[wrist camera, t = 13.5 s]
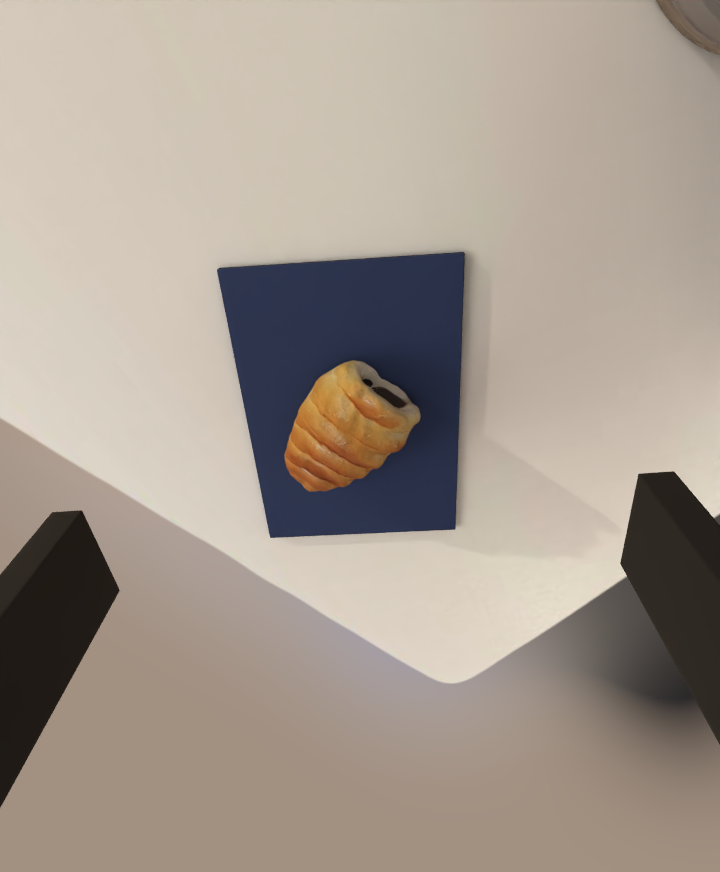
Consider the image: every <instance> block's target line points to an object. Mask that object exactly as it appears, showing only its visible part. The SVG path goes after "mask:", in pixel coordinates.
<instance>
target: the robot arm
mask: <svg viewBox="0 0 720 872" xmlns="http://www.w3.org/2000/svg"><path fill="white" fill-rule="evenodd" d="M656 1H657V3H658V4H659V6H660V8H661V10H662V11H663V12H664V14H665V15H666V16H667V18H668V19H669V20H670V22H671V23H672V24H673V25H674V26H675V27H676V28H677V29H678V30H679V31H680V32H681V33H682V34H683V35H684V36H686V37H687V38H688V39H690V40H691V41H692V42H694V43H695V44H697V45H699V46H700V47H702V48H704V49H706V50H708V51H710V52H713V53H715V54H718V55H720V0H656ZM620 564H621V566H622V567H623V569H624V571H625V573H626V575H627V577H628V578H629V580H630V582H631V584H632V585H633V587H634V589H635V591H636V593H637V595H638V596H639V598H640V600H641V602H642V604H643V606H644V608H645V609H646V611H647V613H648V615H649V616H650V618H651V620H652V622H653V624H654V626H655V627H656V629H657V631H658V633H659V635H660V637H661V638H662V640H663V642H664V644H665V646H666V648H667V649H668V651H669V653H670V655H671V656H672V658H673V660H674V662H675V664H676V666H677V668H678V669H679V671H680V673H681V675H682V677H683V678H684V680H685V682H686V684H687V686H688V688H689V689H690V691H691V693H692V695H693V697H694V699H695V700H696V702H697V704H698V706H699V708H700V709H701V711H702V713H703V715H704V717H705V718H706V720H707V722H708V724H709V726H710V728H711V729H712V731H713V733H714V735H715V737H716V739H717V740H718V742H719V744H720V525H719V524H718V523H717V522H716V521H715V519H714V518H713V517H712V516H711V515H710V513H709V512H708V511H707V510H706V509H705V508H704V506H703V505H702V504H701V503H700V502H699V500H698V499H697V498H696V497H695V496H694V495H693V493H692V492H691V491H690V490H689V489H688V487H687V486H686V485H685V484H684V483H683V482H682V480H681V479H680V478H679V477H678V476H677V474H676V473H675V472H659V473H644V474H638V479H637V484H636V489H635V494H634V499H633V504H632V509H631V514H630V519H629V524H628V529H627V534H626V538H625V543H624V548H623V553H622V558H621V563H620ZM118 592H119V588H118V586H117V584H116V582H115V579H114V577H113V575H112V573H111V571H110V569H109V567H108V565H107V562H106V560H105V558H104V556H103V554H102V552H101V550H100V548H99V546H98V543H97V541H96V539H95V537H94V535H93V533H92V531H91V529H90V527H89V524H88V522H87V520H86V518H85V516H84V514H83V512H82V511H67V512H52V513H51V514H50V516H49V517H48V518H47V519H46V520H45V522H44V523H43V524H42V525H41V526H40V528H39V529H38V530H37V531H36V533H35V534H34V535H33V536H32V537H31V539H30V540H29V541H28V542H27V543H26V544H25V546H24V547H23V548H22V549H21V551H20V552H19V553H18V554H17V555H16V557H15V558H14V559H13V560H12V561H11V563H10V564H9V565H8V566H7V568H6V569H5V570H4V571H3V572H2V573H1V575H0V807H1V805H2V804H3V802H4V800H5V798H6V796H7V794H8V792H9V791H10V789H11V787H12V785H13V784H14V782H15V780H16V778H17V776H18V774H19V773H20V771H21V769H22V767H23V765H24V764H25V762H26V760H27V758H28V756H29V754H30V753H31V751H32V749H33V747H34V745H35V744H36V742H37V740H38V738H39V736H40V734H41V732H42V731H43V729H44V727H45V725H46V723H47V722H48V720H49V718H50V716H51V714H52V713H53V711H54V709H55V707H56V705H57V703H58V701H59V700H60V698H61V696H62V694H63V693H64V691H65V689H66V687H67V685H68V683H69V682H70V680H71V678H72V676H73V674H74V672H75V671H76V669H77V667H78V665H79V663H80V662H81V660H82V658H83V656H84V654H85V653H86V651H87V649H88V647H89V645H90V643H91V642H92V640H93V638H94V636H95V634H96V632H97V631H98V629H99V627H100V625H101V623H102V622H103V620H104V618H105V616H106V614H107V613H108V611H109V609H110V607H111V605H112V603H113V602H114V600H115V598H116V596H117V594H118Z"/></svg>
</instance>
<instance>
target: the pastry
mask: <svg viewBox="0 0 720 872" xmlns="http://www.w3.org/2000/svg"><path fill="white" fill-rule="evenodd" d="M420 417H421V416H420V412H419V408H418V407H417V406H415V405H414V404H412V402H411V401H410V399H409V398H408V397H407V395H406V394H405V393H404V392H403V391H402V390H401V389H400V388H399V387H397V386H395V385H393V384H391V383H390V382H388V381H386V380H383V379H381V378H380V377H379V375H378V373H377V372H376V370H374V369H373V368H372V367H370V366H369V365H367V364H366V363H365V362H361V361H354V360H353V361H348V362H345V363H343V364H340V365H339V366H337V367H335V368H334V369H332V370H330V371H329V372H327V373H325V374H324V375H322V376H321V377H320V378H319V379H318V380H317V381H316V382H315V384H314V386H313V388H312V390H311V392H310V393H309V395H308V396H307V398H306V399H305V401H304V402H303V403H302V405H301V406H300V408H299V410H298V414H297V417H296V419H295V422H294V426H293V429H292V432H291V434H290V436H289V440H288V444H287V448H286V451H285V455H284V456H285V462H286V467H287V469H288V471H289V473H290V475H291V476H293V477H294V478H295V479H296V480H297V481H298V482H300V483H301V484H302V485H303V487H304V488H305V489H306V490H308V491H309V492H316V491H328V490H331V489H334V488H336V487H346V486H347V485H349V484H350V483H351V482H352V481H353V480H354V479H362V478H364V477H365V476H366V475H367V474H368V473H369V472H370V471H371V470H372V469H378V468H379V467H380V466H381V465H382V464H383V463H384V461H385V459H386V458H387V456H388V455H390V454H391V453H394V452H397V451H399V450H401V449H402V448H403V446H404V445H405V443H406V440H407V437H408V435H409V433H410V431H411V429H412V428H413V426H414V425H415V424H417V423H418V422H419V421H420Z"/></svg>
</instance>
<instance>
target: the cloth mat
mask: <svg viewBox="0 0 720 872" xmlns="http://www.w3.org/2000/svg"><path fill="white" fill-rule="evenodd" d="M464 256H465V254H464V252H457V253H442V254H427V255H412V256H397V257H381V258H366V259H351V260H336V261H321V262H306V263H290V264H275V265H260V266H245V267H230V268H219V269H218V270H217V272H218V277H219V282H220V287H221V292H222V297H223V302H224V307H225V312H226V317H227V322H228V327H229V332H230V338H231V343H232V348H233V353H234V358H235V363H236V368H237V373H238V378H239V383H240V388H241V393H242V398H243V403H244V408H245V413H246V418H247V423H248V428H249V433H250V438H251V443H252V448H253V453H254V458H255V463H256V468H257V473H258V478H259V483H260V488H261V493H262V498H263V503H264V508H265V513H266V518H267V523H268V528H269V533H270V538H275V537H297V536H319V535H341V534H363V533H385V532H408V531H430V530H452V529H455V520H456V491H457V462H458V432H459V403H460V374H461V344H462V315H463V286H464ZM353 360H354V361H361V362H365V363H366V364H367V365H369V366H370V367H372V368H373V369H374V370H376V372H377V373H378V375H379V377H380V378H381V379H383V380H386V381H388V382H390V383H391V384H393V385H395V386H397V387H399V388H400V389H401V390H402V391H403V392H404V393H405V394H406V395H407V397H408V398H409V399H410V401H411V402H412V404H414V405H415V406H417V407H418V408H419V412H420V416H421V417H420V421H419V422H418V423H417V424H415V425H414V426H413V428H412V429H411V431H410V433H409V435H408V437H407V440H406V443H405V445H404V446H403V448H402V449H401V450H399V451H397V452H394V453H391V454H390V455H388V456H387V458H386V459H385V461H384V463H383V464H382V465H381V466H380V467H379V468H378V469H372V470H371V471H370V472H369V473H368V474H367V475H366V476H365V477H364V478H362V479H354V480H353V481H352V482H351V483H350V484H349V485H347V486H346V487H336V488H334V489H331V490H328V491H316V492H309V491H308V490H306V489H305V488H304V487H303V485H302V484H301V483H300V482H298V481H297V480H296V479H295V478H294V477H293V476H291V475H290V473H289V471H288V469H287V467H286V462H285V456H284V455H285V451H286V448H287V444H288V440H289V436H290V434H291V432H292V429H293V426H294V422H295V419H296V417H297V414H298V410H299V408H300V406H301V405H302V403H303V402H304V401H305V399H306V398H307V396H308V395H309V393H310V392H311V390H312V388H313V386H314V384H315V382H316V381H317V380H318V379H319V378H320V377H321V376H322V375H324V374H325V373H327V372H329V371H330V370H332V369H334V368H335V367H337V366H339V365H340V364H343V363H345V362H348V361H353Z"/></svg>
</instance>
